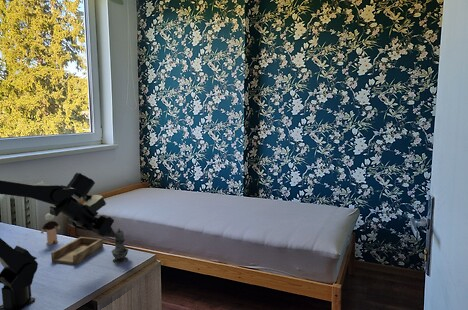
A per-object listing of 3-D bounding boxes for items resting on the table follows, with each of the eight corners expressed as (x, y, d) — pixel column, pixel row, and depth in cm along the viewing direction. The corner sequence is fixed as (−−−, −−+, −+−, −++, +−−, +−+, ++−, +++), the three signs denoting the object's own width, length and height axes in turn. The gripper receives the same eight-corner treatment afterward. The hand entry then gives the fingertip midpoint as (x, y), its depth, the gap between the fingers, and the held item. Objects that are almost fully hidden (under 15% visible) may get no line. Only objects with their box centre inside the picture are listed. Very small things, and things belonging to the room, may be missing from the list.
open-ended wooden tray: (75, 264, 123) (75, 255, 123) (51, 261, 126) (51, 252, 125) (103, 247, 139) (102, 239, 138) (81, 245, 141) (80, 236, 141)
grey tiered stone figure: (111, 258, 129) (110, 226, 128) (128, 255, 131) (126, 224, 130) (112, 264, 124) (110, 232, 122) (129, 262, 126) (128, 230, 124)
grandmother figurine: (55, 239, 147) (53, 210, 145) (62, 240, 146) (60, 211, 144) (39, 246, 140) (37, 215, 138) (46, 247, 139) (44, 216, 137)
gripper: (107, 193, 109) (136, 217, 120) (73, 185, 120) (102, 208, 130) (85, 224, 104) (118, 247, 115) (52, 213, 114) (84, 235, 125)
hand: (106, 233), depth 121 cm, fingers open, 9 cm apart
